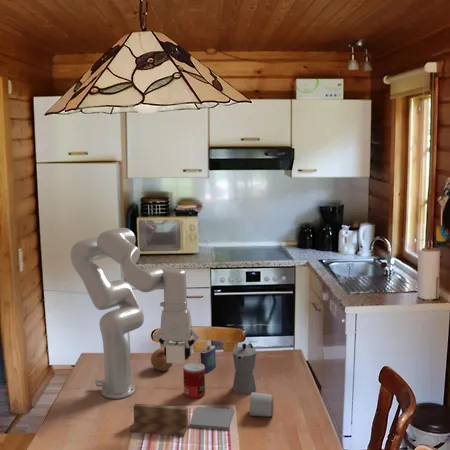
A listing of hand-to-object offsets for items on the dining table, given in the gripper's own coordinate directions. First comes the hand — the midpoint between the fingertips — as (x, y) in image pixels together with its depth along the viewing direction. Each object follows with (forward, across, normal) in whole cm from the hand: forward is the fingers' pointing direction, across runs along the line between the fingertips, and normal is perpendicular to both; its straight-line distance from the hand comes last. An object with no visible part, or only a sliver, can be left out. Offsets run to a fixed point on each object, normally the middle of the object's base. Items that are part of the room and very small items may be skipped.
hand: (177, 357), depth 185 cm
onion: (+21, -17, +36) cm, 45 cm away
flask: (+21, +2, +38) cm, 44 cm away
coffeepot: (+22, +19, +25) cm, 38 cm away
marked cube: (+1, 0, 0) cm, 1 cm away
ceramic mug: (+22, +27, +7) cm, 36 cm away
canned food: (+21, +1, +16) cm, 27 cm away
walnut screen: (+21, -4, -10) cm, 24 cm away
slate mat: (+21, +12, 0) cm, 24 cm away
